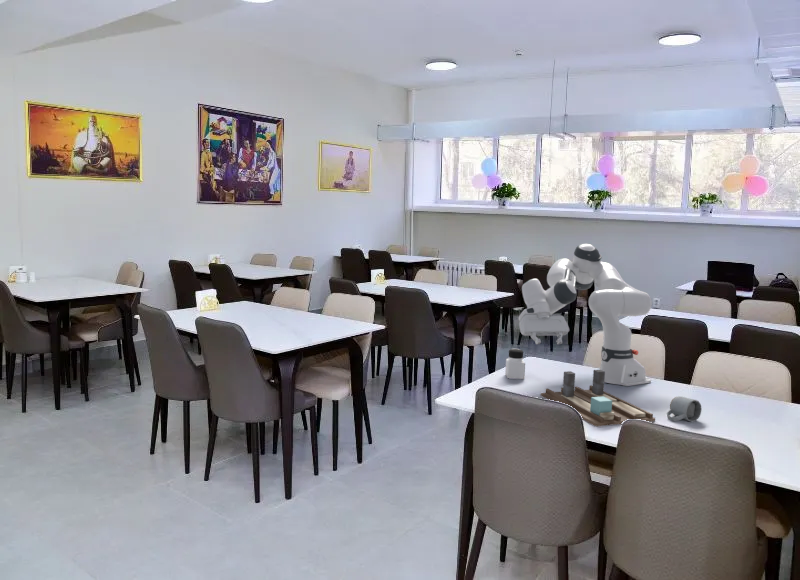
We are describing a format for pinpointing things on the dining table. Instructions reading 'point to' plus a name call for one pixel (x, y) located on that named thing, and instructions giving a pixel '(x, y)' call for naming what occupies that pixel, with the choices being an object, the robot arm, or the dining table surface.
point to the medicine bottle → (515, 365)
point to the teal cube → (600, 405)
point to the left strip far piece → (630, 409)
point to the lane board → (591, 417)
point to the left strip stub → (599, 384)
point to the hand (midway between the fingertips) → (549, 343)
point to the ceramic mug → (684, 409)
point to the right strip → (569, 394)
